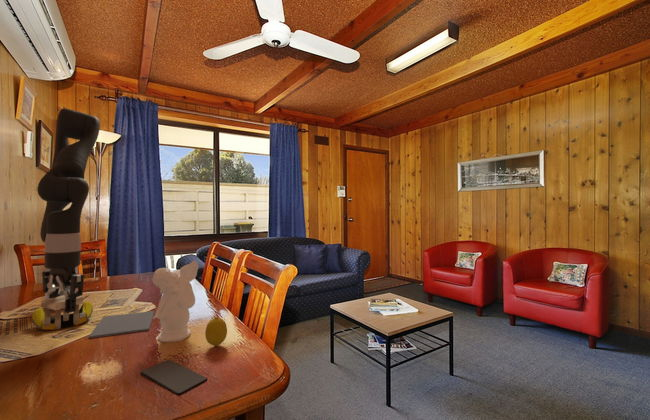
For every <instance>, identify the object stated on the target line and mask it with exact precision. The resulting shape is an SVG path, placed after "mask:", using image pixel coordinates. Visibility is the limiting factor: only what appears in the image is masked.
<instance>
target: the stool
mask: <svg viewBox="0 0 650 420" xmlns="http://www.w3.org/2000/svg"><path fill="white" fill-rule="evenodd" d="M83 297H84V296H78V297H77V298H76V310H75V311H74V312H72V313H73V323H79V309H80V305H81V304H82V305H83V303H84V298H83ZM65 299H66V298H65V295H63V296H59V297H54V298H50V299H45V298H44V299H41V301H40V308H42V309H44V311H45V318H44V326H45V327H47V326H50V317H51V318H52V316H51V315H52V314H51V312H52V310H53V311H54V317H55V329H54V330H60V329H62V328H61V315H63V321H68V320H69V314H70V313H66V312H65ZM51 309H52V310H51ZM62 309H63V312H62Z"/></svg>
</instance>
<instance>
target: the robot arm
mask: <svg viewBox="0 0 650 420" xmlns="http://www.w3.org/2000/svg"><path fill="white" fill-rule="evenodd" d="M55 125H56V126H55V139H54V140H55V141H54V153H53V159H52V164H51V168H50V169H49V170H48V171H47V173H45V174H44V175H43V176H42V177H41V179H40V181H39V182H38V184H37V194H38V196H39V198H40V199H41V200H43V201H45V202H46V206H45V210H44V214H43V217H42V222H41V226H40V234H39V235H40V239H41V241H42V242H43V243H44V268H45V271H42V273H41V274H42V276H41V277H42V292H43V293H44V294H45V298H44V300H45V299H50V298H54V297H59V296H63V295H65V298H66V299H65V312H66V313H69V314H72V313H74V311H75V310H76V298H77V297H78V296H80V297H83V293H84V282H85V274H83V273H81V274H78V273H79V272H78V271H79V270H78V267H79V266H80V265H82V264H81V263H82V261H81V257H82V255H81V253H82V239H81V217H82V212H83V208H84V205H85V203H86V201H87V198H88V195H89V192H90V187H89V184H88V181H86V180H85V172H86V168H87V163H88V160H89V157H90V155H91V153H92V151H93V149H94V147H95V144H96V142H97V140H98V137H99V133H100V129H101V122H100V119H99V118H98V117H97V116H94V115H91V114H87V113H85V112H81V111H78V110H73V109H70V108H66V107H65V108H62V109H60V110H59V111H58V113H57V118H56V123H55ZM69 139H72V140H78V141H76V142H73V143H71V144H70V142H69ZM69 205H70V206H69ZM68 206H69V207H68ZM66 207H68V208H67V209H65V208H66ZM51 311H52V309H51Z"/></svg>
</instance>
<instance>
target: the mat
mask: <svg viewBox="0 0 650 420" xmlns="http://www.w3.org/2000/svg"><path fill="white" fill-rule="evenodd" d="M154 315H155V310H150V311H140V312H132V313H123V314H115V315H105V316H103V317H102V318H101V320H100V321H99V322H98V323H97V325H96V326H95V327H94V328H93V330H92V331H91V333H90V334H89V335H88V339H95V338H102V337H108V336H110V337H111V336H118V335H125V334H133V333H139V332H147V331H148V332H149V331H150V328H151V325H152V322H153V319H154Z"/></svg>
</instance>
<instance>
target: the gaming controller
mask: <svg viewBox="0 0 650 420" xmlns="http://www.w3.org/2000/svg"><path fill="white" fill-rule="evenodd" d="M93 310H94V305H93V304H92V303H91V301H89V300H88V301H83V304H82V305H81V306H80V307H79V323H73V313H74V312H71V313H69V320H68V321H63V314H61V328H60V329H63V328H64V329H65V328H70V327H74V326H78V325H81V324H83V323H86V322H87V321H88V320H89V319H90V318H91V317H92V314H93V312H94V311H93ZM31 316H32V317H31V318H32V319H31V322H32V323H33V325H34V326H35V327H36V328H38V329H41V331H49V330H50V331H52V330H56V329H55V316H53V317H52V316H51V317H50V326H47V327H45V326H44V318H45V309H44V308H43V307H40V308H37V309H35V310H34V311H33V313H32V315H31Z"/></svg>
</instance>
